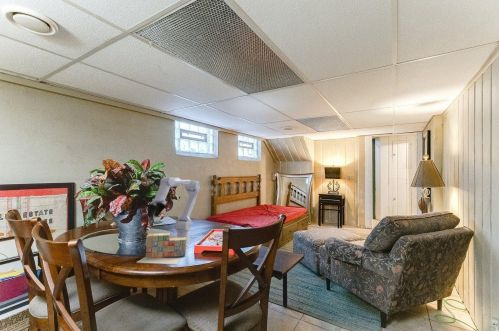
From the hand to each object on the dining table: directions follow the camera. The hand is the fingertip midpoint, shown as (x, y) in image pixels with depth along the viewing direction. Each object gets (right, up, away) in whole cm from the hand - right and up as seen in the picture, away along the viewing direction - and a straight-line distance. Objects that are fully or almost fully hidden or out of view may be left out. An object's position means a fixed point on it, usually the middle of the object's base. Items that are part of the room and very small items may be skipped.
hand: (152, 216), depth 133 cm
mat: (+7, -23, -7) cm, 25 cm away
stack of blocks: (+8, -23, +1) cm, 24 cm away
